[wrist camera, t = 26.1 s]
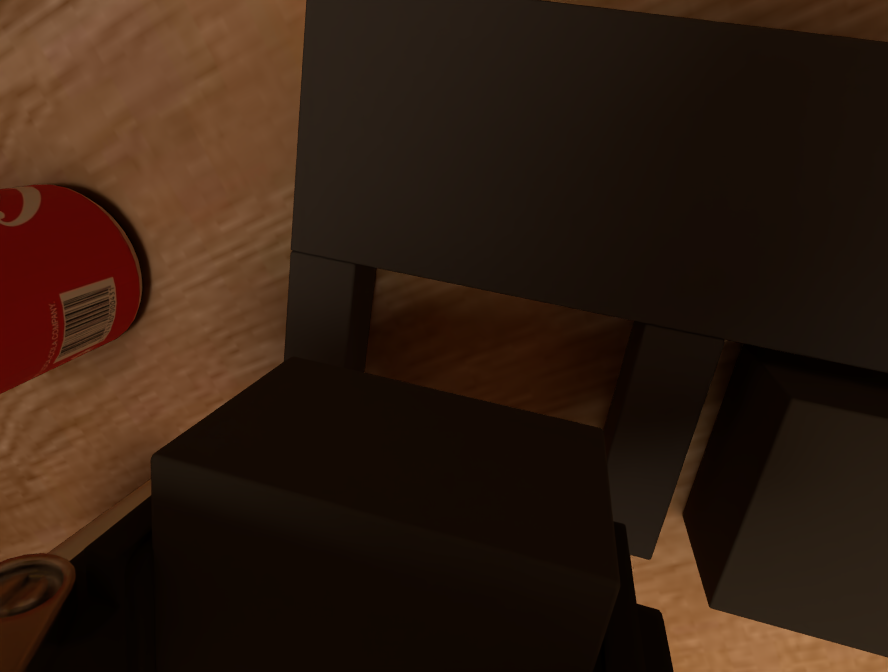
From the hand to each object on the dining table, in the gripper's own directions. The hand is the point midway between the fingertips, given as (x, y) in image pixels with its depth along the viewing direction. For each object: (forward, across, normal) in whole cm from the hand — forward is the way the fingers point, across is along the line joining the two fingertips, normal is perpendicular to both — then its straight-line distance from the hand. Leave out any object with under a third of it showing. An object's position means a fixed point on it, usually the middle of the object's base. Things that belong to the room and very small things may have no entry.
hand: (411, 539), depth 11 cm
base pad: (+8, -5, -4) cm, 10 cm away
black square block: (+1, 0, 0) cm, 1 cm away
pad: (+8, -10, 0) cm, 13 cm away
